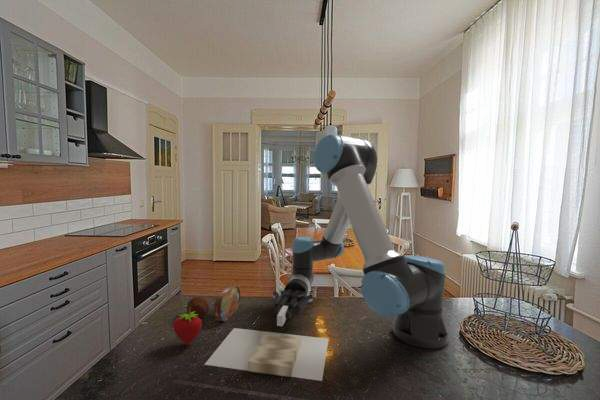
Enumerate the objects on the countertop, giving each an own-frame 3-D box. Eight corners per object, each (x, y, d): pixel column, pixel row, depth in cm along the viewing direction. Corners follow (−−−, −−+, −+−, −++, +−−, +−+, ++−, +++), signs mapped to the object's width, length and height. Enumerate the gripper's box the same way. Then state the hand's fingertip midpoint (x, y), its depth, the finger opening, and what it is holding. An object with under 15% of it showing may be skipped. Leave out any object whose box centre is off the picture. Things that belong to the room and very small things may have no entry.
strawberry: (179, 337, 84) (179, 302, 83) (205, 339, 83) (205, 304, 82) (168, 349, 78) (168, 312, 77) (196, 351, 77) (196, 314, 77)
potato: (183, 323, 92) (183, 303, 92) (189, 310, 101) (189, 291, 101) (206, 322, 93) (206, 302, 93) (210, 309, 102) (210, 291, 102)
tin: (221, 326, 91) (221, 299, 90) (211, 325, 92) (212, 298, 91) (241, 306, 106) (241, 282, 105) (232, 305, 106) (232, 282, 106)
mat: (328, 340, 84) (328, 338, 84) (321, 383, 66) (322, 380, 66) (234, 329, 89) (234, 328, 89) (204, 366, 71) (204, 364, 71)
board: (300, 337, 79) (290, 367, 67) (300, 346, 80) (290, 377, 67) (264, 333, 81) (247, 361, 68) (264, 342, 81) (247, 371, 69)
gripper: (316, 301, 100) (304, 337, 77) (278, 298, 103) (255, 332, 80) (316, 279, 100) (304, 309, 77) (278, 276, 102) (256, 304, 79)
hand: (279, 320), depth 78 cm, fingers closed
